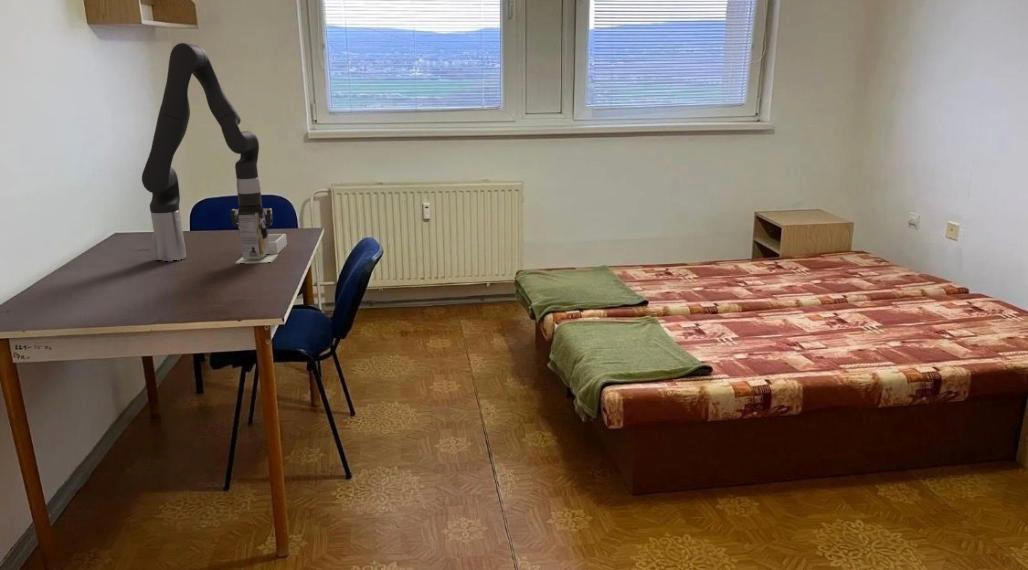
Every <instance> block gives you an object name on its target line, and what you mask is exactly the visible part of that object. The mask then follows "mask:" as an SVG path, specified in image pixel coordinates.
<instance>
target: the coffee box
mask: <svg viewBox="0 0 1028 570" xmlns="http://www.w3.org/2000/svg"><path fill="white" fill-rule="evenodd" d="M262 218H264V220H265V222H266V223H267V218H266V214H265V212H263V213H262V215H261V216H260V213H259V212H258V211H256V212H252V211H249V212H240V213H239V212H238V214H237V219H238V223H239V228H238V231H239V230H240V233H239V237H240V245H241V252H242V257H243V259H261V258H262V257H264V256H265V255H266V254H268V253H269V245H268V236H267V237H266V239H263V235H262V226H261V223H260V219H262Z"/></svg>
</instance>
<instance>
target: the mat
mask: <svg viewBox="0 0 1028 570" xmlns="http://www.w3.org/2000/svg"><path fill="white" fill-rule="evenodd" d="M278 257H279V254H269V255H265V256H264V257H262V258H261V259H243V256H241V257H240V258H239V259H237V261H235V265H237V264H238V265H239V264H240V263H245V264H269V263H268V262H271V263H272V262H273V261H274V260H275V259H277V258H278ZM240 265H241V264H240Z"/></svg>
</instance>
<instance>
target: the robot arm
mask: <svg viewBox="0 0 1028 570" xmlns="http://www.w3.org/2000/svg"><path fill="white" fill-rule="evenodd" d="M216 74H217V73H216V71H215V70H214V67H213V65H212V62H211V60H210V58H209V56H208V54H207V52H206V51H205V49H203V47H201V46H199V45H196V44H193V43H191V44H190V43H185V42H180V43H177V44H175V45H174V47H172V49H171V51H170V55H169V60H168V69H167V77H166V81H165V82H166V83H165V87H164V91H163V96H162V101H161V105H160V109H159V112H158V116H157V120H156V126H155V130H154V133H153V137H152V144H151V148H150V152H149V154H148V158H147V160H146V163H145V165H144V168H143V171H142V175H141V182H142V183H141V184H142V185H143V187H144V188H145V190H147V191H148V192H149V193H152V194H151V195H152V198H151V202H150V203H149V212H150V216H151V217H150V218H151V223H152V228H153V229H152V231H153V233H152V234H151V238H152V239H151V240H152V246H153V251H154V258H155V261H156V260H163V261H162V262H164V261H168V262H174V261H173V260H177V261H181V259H182V260H185V259H186V258H187V252H186V244H185V237H184V232H183V225H182V217H181V212H180V211H181V210H180V201H181V197H180V196H181V195H180V186H179V179H178V175H177V172H176V170H175V169H174V167H172V163H173V159H174V156H175V154H176V151H177V150H178V148H179V146H180V145H181V142H182V141H183V140H184V138H185V135H186V132H187V129H188V125H189V121H190V116H191V107H190V102H189V96H188V95H189V93H188V92H189V84H190V81H191V78H192V75H193V76H194V77H195V78H196V80H197V81H198V82H199V84H200V85H201V87H202V90H203V91H204V95H205V98H206V103H207V105H208V107H209V110H210V112H211V114H212V115H213V117H214V119H215V120H216V122H217V123H218V125H219V126H220V128H221V129H220V130H221V132H222V135H223V138H224V141H225V143H226V145H227V147H228V149H230V151H232V152H233V153H234V154H238V155H240V156H239V159H238V160H237V161H236V162H235V164H234V166H235V167H234V168H235V170H234V171H235V176H236V192H237V194H236V195H237V200H238V201H237V202H238V208H237V209H235V208H232V209H230V211H229V214H230V218H231V219H230V220H231V223H232V224H231V225H232V226H233V227H234V228H237V229H238V232H239V234H240V230H239V222H238V215H237V214H238V213H240V212H249V211H252V212H256V211H258V212H259V213H260V216H261V215H262V213H263V212H265V216H266V222H265V220H264V218H262V219H260V223H261V226H262V235H263V239H266V237H267V236H268V234H269V232H268V227H271V226H272V225H273V224H274V223H273V209H272V208H271V207H270V208H264V207H263V203H262V201H263V200H262V193H261V190H262V189H261V185H260V180H259V173H258V165H257V164H258V160H259V159H258V158H259V151H260V145H259V143H260V142H259V139H258V137H257V135H256V134H255V133H254V132H252V131H250V130H244V131H242V130H241V129H240V127H239V125H240V124H241V120H242V119H241V116H240V115H239V113H238V112H237V110H236V108H235V107H234V105H233V104H232V102H231V101H230V99H229V97H228V96H227V93H226V92H225V91H224V88H223V87H222V85H221V83H220V81H219V78H218V76H217V75H216Z"/></svg>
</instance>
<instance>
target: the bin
mask: <svg viewBox="0 0 1028 570" xmlns="http://www.w3.org/2000/svg"><path fill="white" fill-rule="evenodd" d="M268 245H269V253H268V254H269V255H279V254H280V253H281V252H282V251H283V250H284V249H285V248H286V247H287V246H288V241H287V233H271V234H270V233H268ZM286 245H287V246H286ZM284 247H285V248H284ZM283 248H284V249H283ZM282 249H283V250H282ZM281 250H282V251H281ZM280 251H281V252H280ZM279 252H280V253H279ZM278 253H279V254H278Z"/></svg>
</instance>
